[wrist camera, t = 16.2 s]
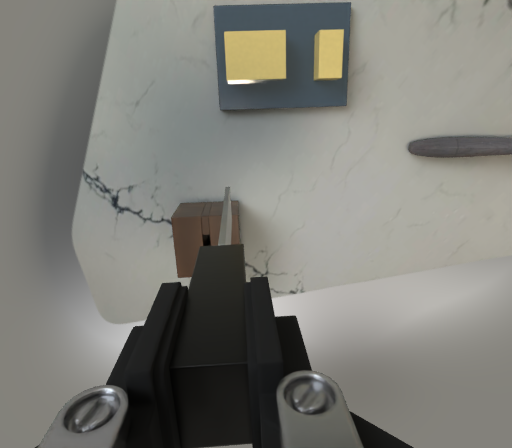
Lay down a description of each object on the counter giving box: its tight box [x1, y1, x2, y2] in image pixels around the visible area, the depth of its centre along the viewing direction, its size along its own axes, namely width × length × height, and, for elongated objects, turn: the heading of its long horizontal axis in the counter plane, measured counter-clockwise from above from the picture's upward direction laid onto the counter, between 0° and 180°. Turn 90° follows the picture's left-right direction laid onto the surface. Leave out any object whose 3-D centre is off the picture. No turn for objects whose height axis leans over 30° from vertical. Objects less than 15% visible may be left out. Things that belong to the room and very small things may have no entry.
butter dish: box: [213, 2, 351, 110], centre depth 36 cm, size 14×10×3 cm
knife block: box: [171, 201, 240, 278], centre depth 40 cm, size 7×7×6 cm
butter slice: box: [314, 29, 344, 80], centre depth 36 cm, size 2×4×2 cm, turn 1°
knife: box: [169, 187, 252, 448], centre depth 16 cm, size 2×2×18 cm
